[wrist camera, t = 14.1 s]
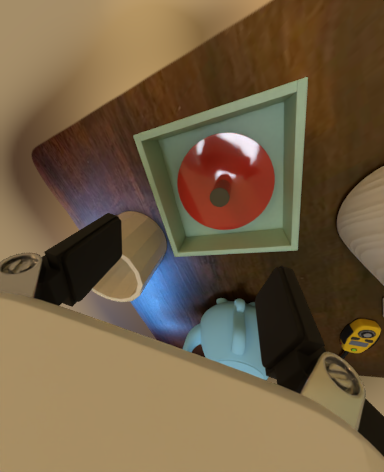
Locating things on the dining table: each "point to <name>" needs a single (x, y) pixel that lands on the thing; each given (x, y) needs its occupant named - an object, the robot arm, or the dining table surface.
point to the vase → (365, 222)
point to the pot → (134, 258)
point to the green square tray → (255, 127)
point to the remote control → (359, 336)
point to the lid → (226, 181)
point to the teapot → (229, 336)
